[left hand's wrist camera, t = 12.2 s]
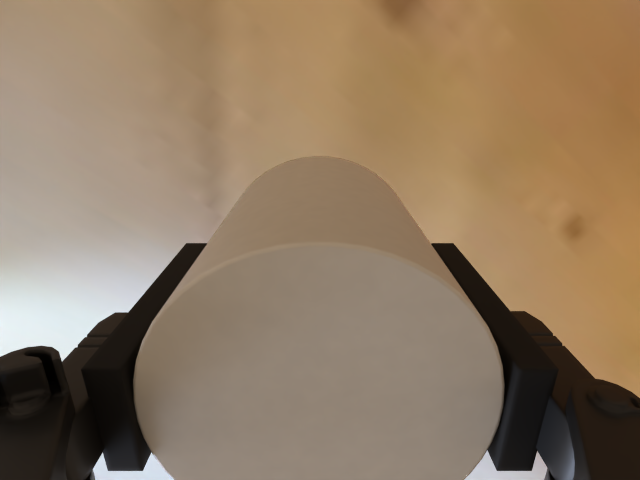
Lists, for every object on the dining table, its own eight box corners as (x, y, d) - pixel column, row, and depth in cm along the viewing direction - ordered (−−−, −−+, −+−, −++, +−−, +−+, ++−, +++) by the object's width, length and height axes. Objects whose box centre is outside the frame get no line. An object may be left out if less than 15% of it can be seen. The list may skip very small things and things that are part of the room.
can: (386, 129, 15) (470, 186, 7) (429, 301, 18) (528, 497, 9) (196, 190, 16) (57, 310, 7) (265, 345, 18) (220, 561, 10)
